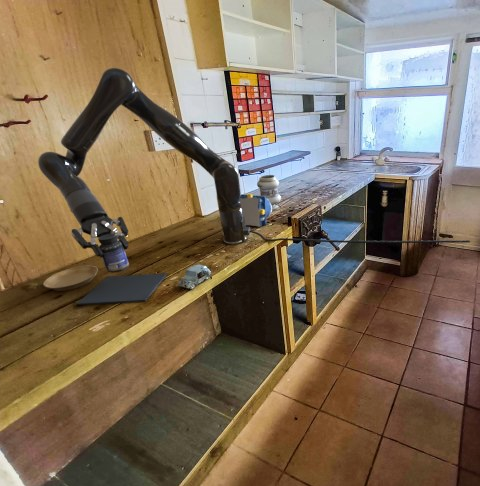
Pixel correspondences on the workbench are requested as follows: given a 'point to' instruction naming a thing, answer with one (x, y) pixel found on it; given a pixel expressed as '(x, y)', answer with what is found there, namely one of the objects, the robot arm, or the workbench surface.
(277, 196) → the apothecary jar
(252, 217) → the valve
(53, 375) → the workbench surface
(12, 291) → the workbench surface
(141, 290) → the mat
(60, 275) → the plant saucer
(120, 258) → the pill bottle
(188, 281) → the toy car
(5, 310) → the workbench surface
